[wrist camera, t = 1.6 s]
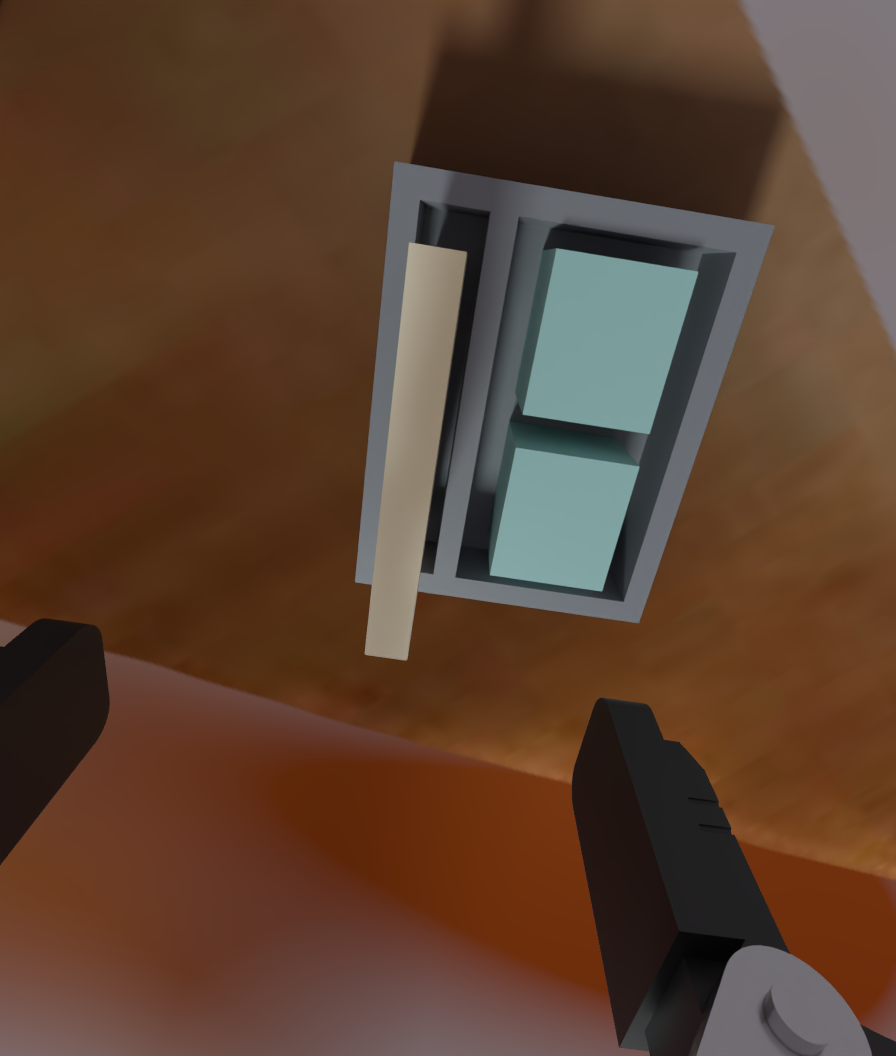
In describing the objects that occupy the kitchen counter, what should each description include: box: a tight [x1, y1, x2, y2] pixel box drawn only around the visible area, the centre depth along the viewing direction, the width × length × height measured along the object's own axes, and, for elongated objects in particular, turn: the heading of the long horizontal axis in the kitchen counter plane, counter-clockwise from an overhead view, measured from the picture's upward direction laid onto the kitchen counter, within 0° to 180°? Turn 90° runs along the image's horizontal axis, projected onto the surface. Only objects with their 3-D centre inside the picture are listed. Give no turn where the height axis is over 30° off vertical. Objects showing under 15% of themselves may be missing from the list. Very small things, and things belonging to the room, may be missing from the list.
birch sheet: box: [365, 242, 467, 660], centre depth 25 cm, size 2×14×14 cm, turn 172°
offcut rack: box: [355, 161, 775, 623], centre depth 30 cm, size 16×20×5 cm
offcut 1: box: [515, 248, 698, 434], centre depth 28 cm, size 6×7×5 cm
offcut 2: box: [487, 421, 640, 591], centre depth 31 cm, size 6×7×5 cm
